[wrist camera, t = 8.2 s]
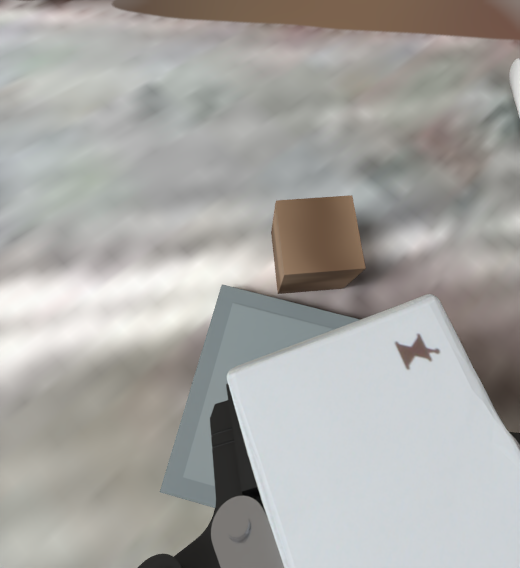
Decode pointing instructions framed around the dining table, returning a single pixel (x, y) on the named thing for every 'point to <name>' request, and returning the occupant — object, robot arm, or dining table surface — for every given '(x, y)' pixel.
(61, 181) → the dining table surface
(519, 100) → the spoon
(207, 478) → the plate
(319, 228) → the walnut block
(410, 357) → the skincare box
